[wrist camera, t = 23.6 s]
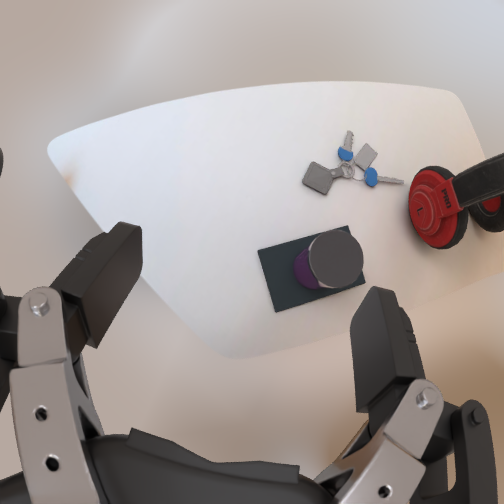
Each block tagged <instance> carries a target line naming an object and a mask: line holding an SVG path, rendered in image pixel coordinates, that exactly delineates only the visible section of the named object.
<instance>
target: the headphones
mask: <svg viewBox="0 0 504 504" xmlns="http://www.w3.org/2000/svg"><path fill="white" fill-rule="evenodd" d="M468 207H469V209H470V212H471V214H472V216H473V218H474V219H475V221H476V222H477V223H478V224H479V226H480V227H482V228H483V229H485V230H486V231H489V232H501V231H503V230H504V153H502V154H500V155H497V156H495V157H492V158H490V159H487V160H485V161H483V162H481V163H479V164H477V165H475V166H472V167H470V168H469V169H467V170H465V171H463V172H461V173H459V174H458V175H456V176H455V175H453V174H452V173H451V172H450V171H449V170H447V169H445V168H443V167H440V166H428V167H425V168H423V169H421V170H420V171H419V172H418V173H417V174H416V175H415V177H414V179H413V181H412V184H411V187H410V191H409V211H410V216H411V219H412V222H413V225H414V227H415V229H416V231H417V233H418V234H419V235H420V237H421V238H422V239H423V240H424V241H425V242H426V243H427V244H428V245H429V246H431V247H433V248H436V249H449V248H451V247H453V246H454V245H456V244H458V242H459V241H460V240H461V239H462V238H463V236H464V233H465V231H466V229H467V223H468Z"/></svg>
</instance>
